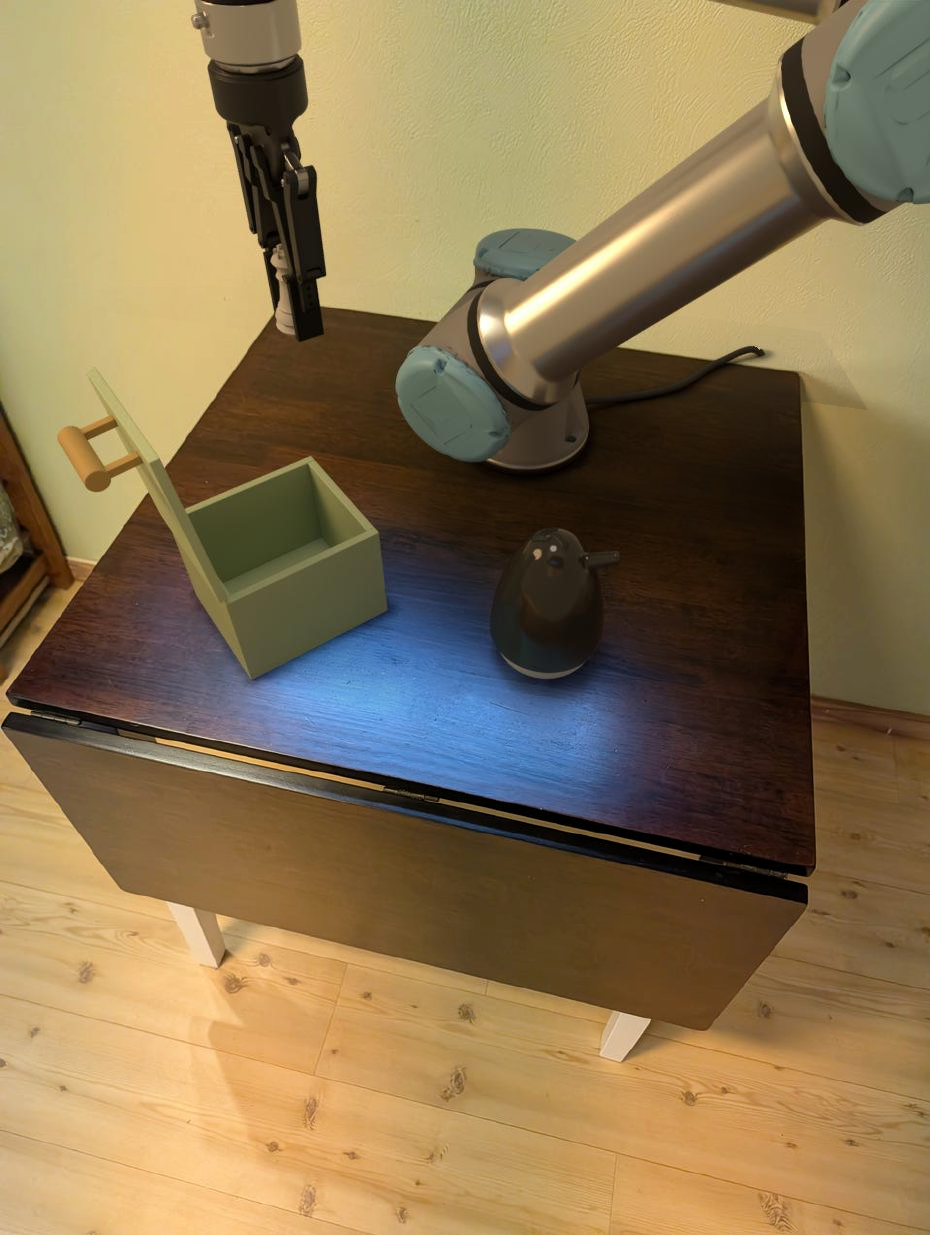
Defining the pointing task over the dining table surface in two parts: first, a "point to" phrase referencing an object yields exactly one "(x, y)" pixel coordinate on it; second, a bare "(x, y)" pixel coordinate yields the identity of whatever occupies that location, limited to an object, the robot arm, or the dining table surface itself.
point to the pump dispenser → (550, 604)
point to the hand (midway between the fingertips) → (298, 323)
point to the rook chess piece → (282, 294)
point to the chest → (287, 565)
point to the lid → (148, 468)
